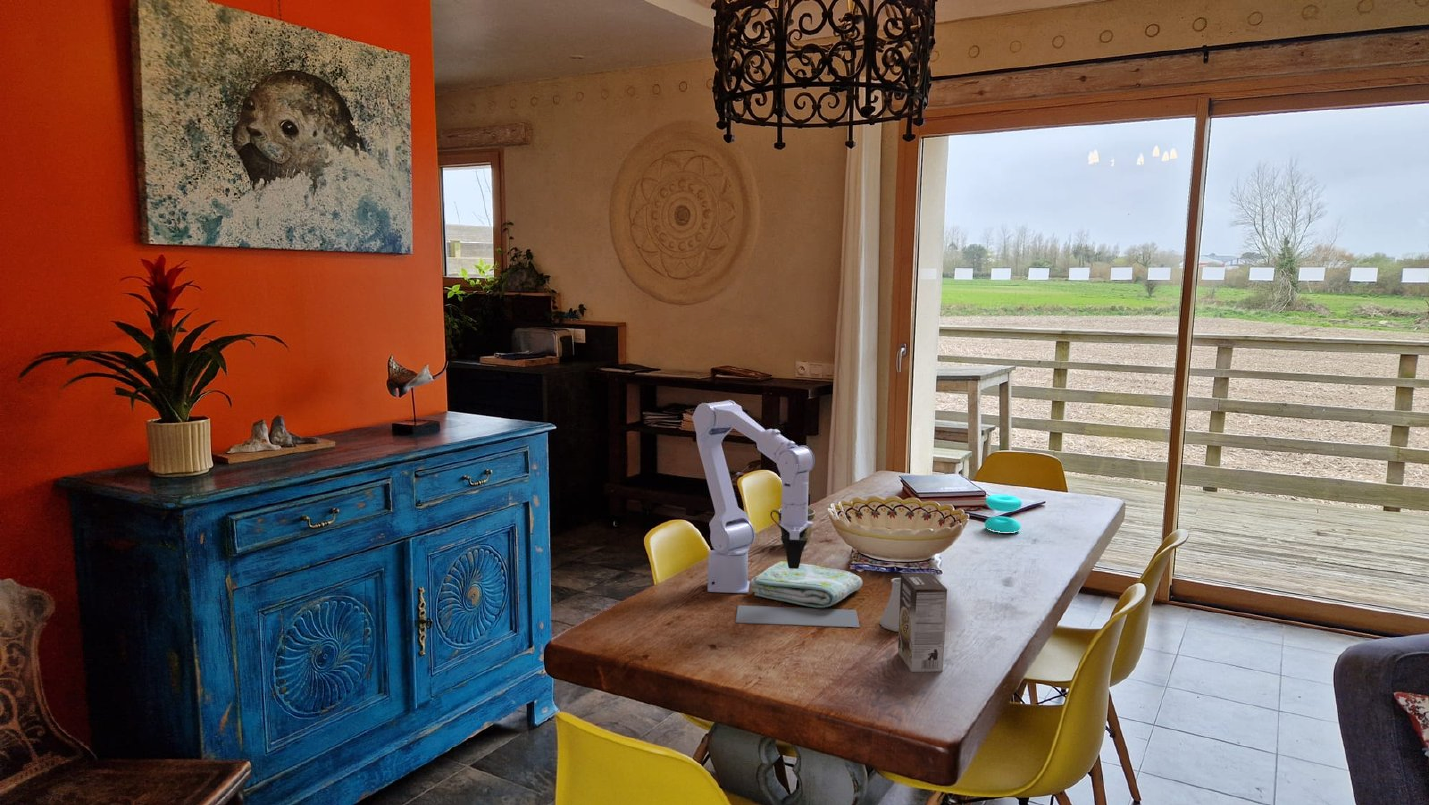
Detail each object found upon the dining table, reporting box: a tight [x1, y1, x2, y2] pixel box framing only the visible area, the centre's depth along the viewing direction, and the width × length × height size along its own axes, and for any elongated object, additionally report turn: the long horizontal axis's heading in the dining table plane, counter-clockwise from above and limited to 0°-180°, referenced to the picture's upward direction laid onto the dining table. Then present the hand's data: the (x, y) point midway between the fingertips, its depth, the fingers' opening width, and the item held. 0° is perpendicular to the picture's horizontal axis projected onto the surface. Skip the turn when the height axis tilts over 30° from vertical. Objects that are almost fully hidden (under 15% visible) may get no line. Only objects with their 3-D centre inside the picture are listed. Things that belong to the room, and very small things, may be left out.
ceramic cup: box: [769, 507, 816, 551], centre depth 246 cm, size 13×10×10 cm
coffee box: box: [897, 572, 948, 673], centre depth 171 cm, size 9×6×16 cm
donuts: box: [984, 494, 1023, 532], centre depth 264 cm, size 10×10×10 cm
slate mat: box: [735, 604, 860, 629], centre depth 194 cm, size 26×10×1 cm, turn 86°
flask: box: [878, 577, 901, 633], centre depth 189 cm, size 7×7×10 cm
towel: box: [749, 560, 863, 609], centre depth 209 cm, size 18×21×5 cm
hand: (793, 562), depth 198 cm, fingers open, 7 cm apart
